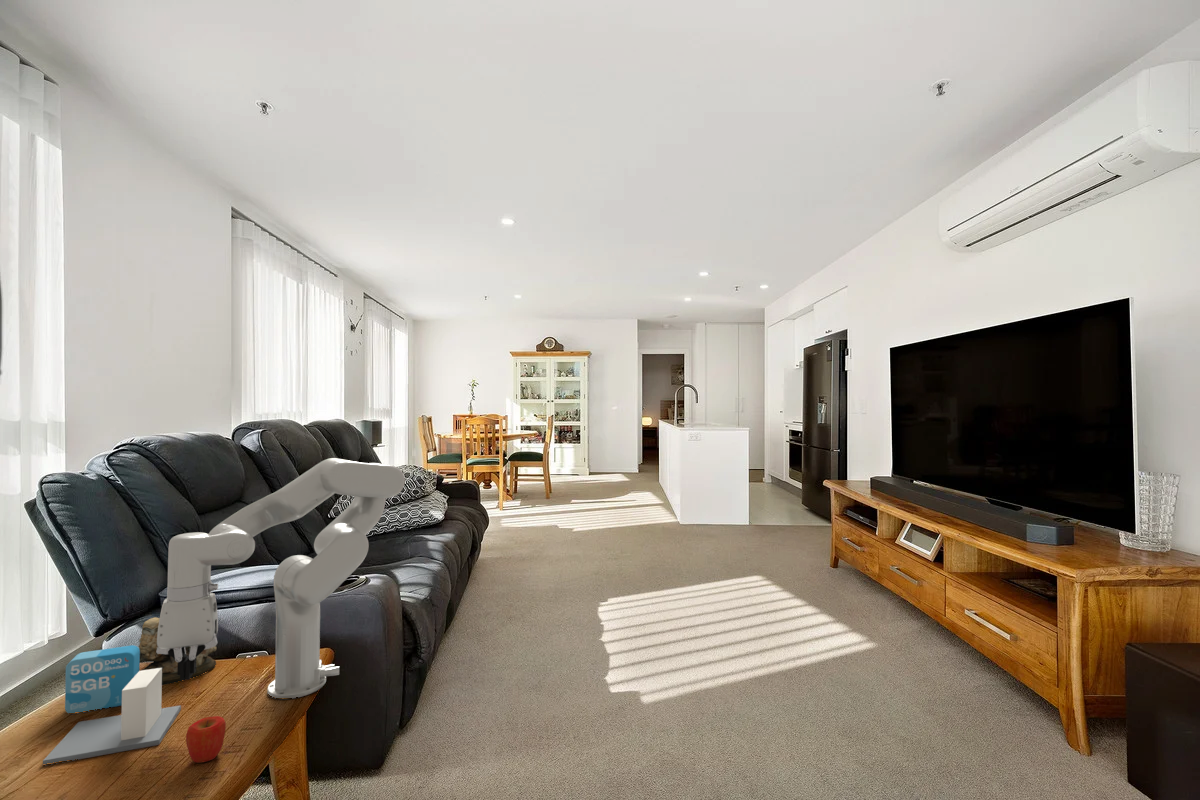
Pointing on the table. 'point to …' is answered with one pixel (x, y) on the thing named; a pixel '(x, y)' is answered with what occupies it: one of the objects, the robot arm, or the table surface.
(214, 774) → the table surface
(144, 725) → the slab
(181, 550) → the robot arm
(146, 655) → the owl figurine
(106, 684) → the data package
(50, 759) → the board
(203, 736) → the apple
